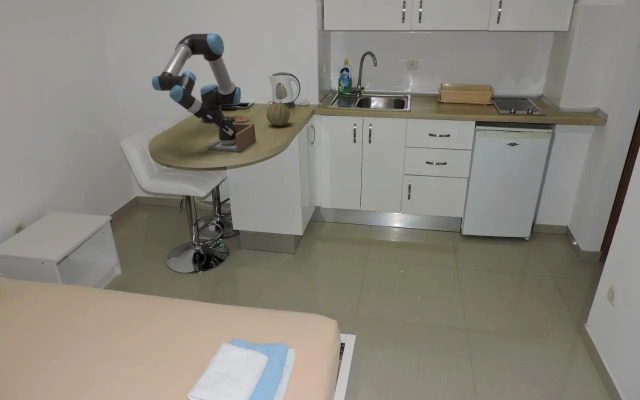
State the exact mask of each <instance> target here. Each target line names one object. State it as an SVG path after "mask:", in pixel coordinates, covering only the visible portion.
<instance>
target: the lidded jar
mask: <svg viewBox="0 0 640 400" xmlns="http://www.w3.org/2000/svg"><path fill="white" fill-rule="evenodd" d="M233 119H235V121H234V122H233V123H238V124H251V118H250V117H249V116H242V115H241V116H238V117H235V118H233Z"/></svg>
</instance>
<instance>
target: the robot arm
mask: <svg viewBox="0 0 640 400" xmlns="http://www.w3.org/2000/svg"><path fill="white" fill-rule="evenodd" d="M224 44H225V43H224V41H223V38H222V37H221V35H219V34H218V33H212V32H211V33H191V34H188V35H186V36H185V37H183V38H182V39H180V40H179V41H178V42H177V44H176V46H175V48H174V52H173V54H172V56H171V58H169V61H168V62H167V64H166V65H165V67H164V69H163V70H162V72H161V74H160V75H155V76H153V77H152V79H151V85H152V87H153V89H154V90H155V91H161V92H164V91H165V92H167V91H169V93H168V94H169V95H168V96H169V97H170V99H171V100H173V101H174V102H175V103H177V104H178V105H179V106H181V107H183V108H184V110H187V113H190V114H193V115H194V116H195V117H196V118H197V119H201V122H202V123H204V124H212V125H214V126H216V127H217V128H218V129H219V127H220V128H221V130H224V131H225V132H227V133H228V134H229V135H232V134H233V132H234V131H232V130H231V129H230V128H228V127H227V126H226V125H225V124H223V123H222V122H221V120H222V119H223V118H225V114H224V113H223V110H222V108H221V106H237V105H239V104H240V103H241V99H242V91H241V87H239V86H236V84H235V82H233V81H232V79H231V77H230V75H229V72H228V69H227V67H226V64H225V62H224V59H223V55H224V54H223V53H224V51H225V45H224ZM192 56H203V59H204V60H206V61H207V62H208V64H209V67H210V68H211V71H212V74H213V76H214V78H215V80H216V83H217V84H209V85H208V84H207V85H205V86H203V87H201V88H200V89H199V90H200V91H199V93H200V98H201V101H200V100H199V99H198V98H196V97H195V96H193V94H192V93H193V90H194V89H195V88H194V87H195V84H196V82H197V81H196V80H197V77H196V75H195V74H194V72H192V71H189V70H186V71H183V72H182V73H181V71H182V69H183V67H184V66H185V64H186V62H187V60H189V59H190V58H192ZM180 73H181V75H180Z"/></svg>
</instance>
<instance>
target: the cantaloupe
mask: <svg viewBox="0 0 640 400" xmlns="http://www.w3.org/2000/svg"><path fill="white" fill-rule="evenodd" d="M290 118H291V112H290V109H289V107H288V106H287V105H286V104H284V103H282V102H281V101H279V102H274V103H271V104H270V105H269V107H268V108H267V110H266V119H267V120H268V122H269V123H270V124H271V125H273V126H275V127H282V126H285V125H286V124H287V123H288V122H289V120H290Z"/></svg>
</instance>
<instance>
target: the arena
mask: <svg viewBox="0 0 640 400" xmlns="http://www.w3.org/2000/svg"><path fill="white" fill-rule="evenodd" d="M233 124H234V126H235V129H236V132H237V134H235V136H236V142H235V143H234V144H233V145H224V144H222V143H221V141H220V140H218V141H216V142H215V143H213V144H212V145H211V146H209V147H207V148H206V149H207V151H213V150H218V151H217V152H227V151H230V152H229V153H242V152H243V151H245V150H246V149H247V148H248V147H250V146H251V145H253V144H254V143H256V141H257V139H256V130H255V124H252V123H250V124H238V123H233Z"/></svg>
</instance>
